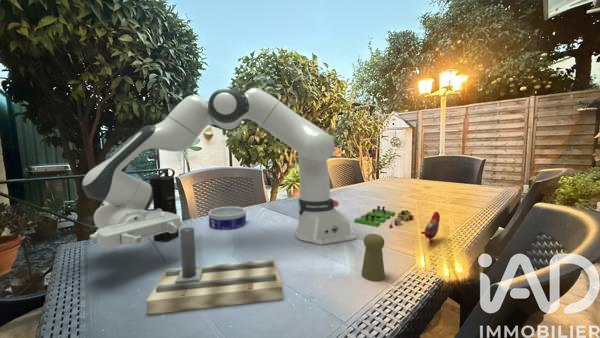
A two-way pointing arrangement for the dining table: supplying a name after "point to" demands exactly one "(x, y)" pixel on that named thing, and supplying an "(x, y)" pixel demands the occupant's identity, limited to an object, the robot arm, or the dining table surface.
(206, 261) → the dining table surface
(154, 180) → the portable radio
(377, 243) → the olive green pawn
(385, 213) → the toy garden set
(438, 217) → the decorative bird figurine
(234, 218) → the dog bowl
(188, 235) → the fader knob
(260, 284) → the fader board
